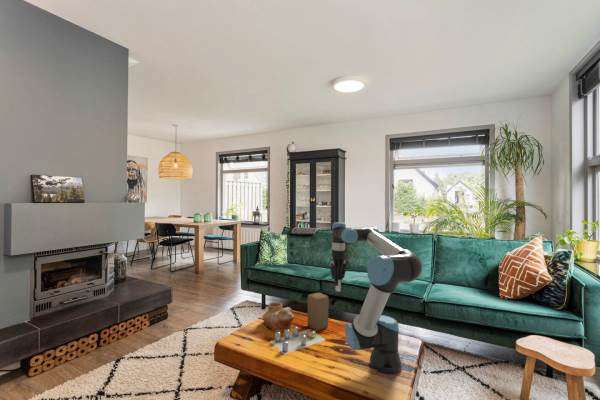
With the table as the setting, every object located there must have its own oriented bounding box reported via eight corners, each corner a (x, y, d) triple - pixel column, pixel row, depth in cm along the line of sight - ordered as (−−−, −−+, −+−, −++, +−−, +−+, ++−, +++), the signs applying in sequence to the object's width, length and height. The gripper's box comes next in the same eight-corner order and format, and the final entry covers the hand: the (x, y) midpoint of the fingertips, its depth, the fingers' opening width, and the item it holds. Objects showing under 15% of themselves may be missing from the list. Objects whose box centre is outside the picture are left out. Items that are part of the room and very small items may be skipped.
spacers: (310, 344, 162) (310, 335, 162) (284, 353, 152) (284, 343, 152) (296, 334, 173) (296, 325, 173) (271, 341, 164) (271, 333, 164)
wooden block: (319, 321, 193) (319, 291, 193) (328, 327, 185) (329, 296, 185) (306, 325, 187) (307, 294, 187) (316, 331, 179) (316, 299, 179)
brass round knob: (317, 336, 170) (317, 331, 170) (311, 339, 167) (311, 334, 167) (311, 333, 174) (311, 328, 174) (305, 336, 171) (305, 330, 171)
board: (326, 341, 167) (326, 339, 167) (284, 356, 151) (284, 354, 151) (309, 330, 180) (309, 329, 180) (269, 343, 164) (269, 341, 164)
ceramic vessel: (281, 339, 169) (281, 313, 169) (258, 323, 190) (259, 300, 189) (300, 332, 177) (300, 308, 177) (276, 318, 198) (277, 296, 198)
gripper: (342, 247, 172) (341, 287, 173) (325, 249, 165) (324, 291, 165) (351, 249, 166) (350, 290, 167) (334, 251, 159) (333, 294, 159)
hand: (338, 290), depth 166 cm, fingers closed
